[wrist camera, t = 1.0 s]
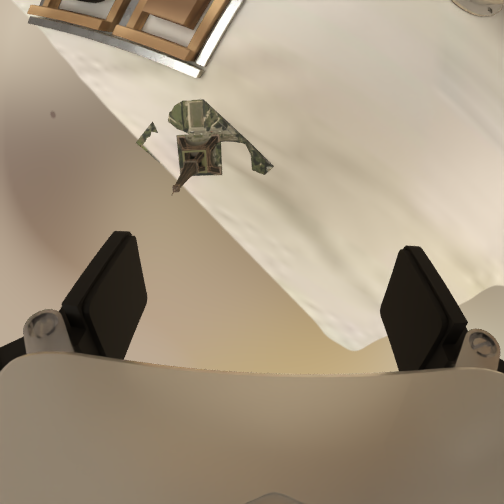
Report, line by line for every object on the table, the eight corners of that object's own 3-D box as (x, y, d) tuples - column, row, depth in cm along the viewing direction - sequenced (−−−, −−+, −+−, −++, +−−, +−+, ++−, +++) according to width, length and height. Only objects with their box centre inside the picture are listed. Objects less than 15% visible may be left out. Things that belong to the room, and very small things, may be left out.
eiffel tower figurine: (276, 165, 39) (281, 211, 27) (221, 216, 43) (204, 277, 31) (186, 83, 33) (147, 91, 22) (135, 143, 37) (85, 179, 26)
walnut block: (176, -18, 26) (164, -29, 22) (214, -5, 27) (206, -16, 23) (156, 16, 28) (141, 10, 24) (193, 30, 29) (183, 24, 25)
